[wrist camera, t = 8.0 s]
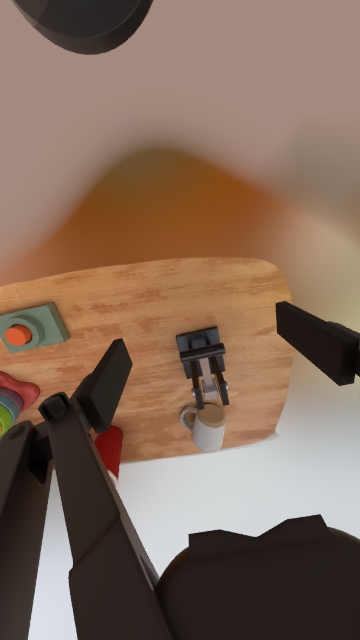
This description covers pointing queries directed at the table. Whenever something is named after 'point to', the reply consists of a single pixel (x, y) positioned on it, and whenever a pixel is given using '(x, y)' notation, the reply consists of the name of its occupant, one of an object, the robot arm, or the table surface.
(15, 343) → the button
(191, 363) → the bracket
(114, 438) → the plastic cup
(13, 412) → the stacking bear
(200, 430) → the ceramic mug
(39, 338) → the control block
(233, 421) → the table surface
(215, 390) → the lever
